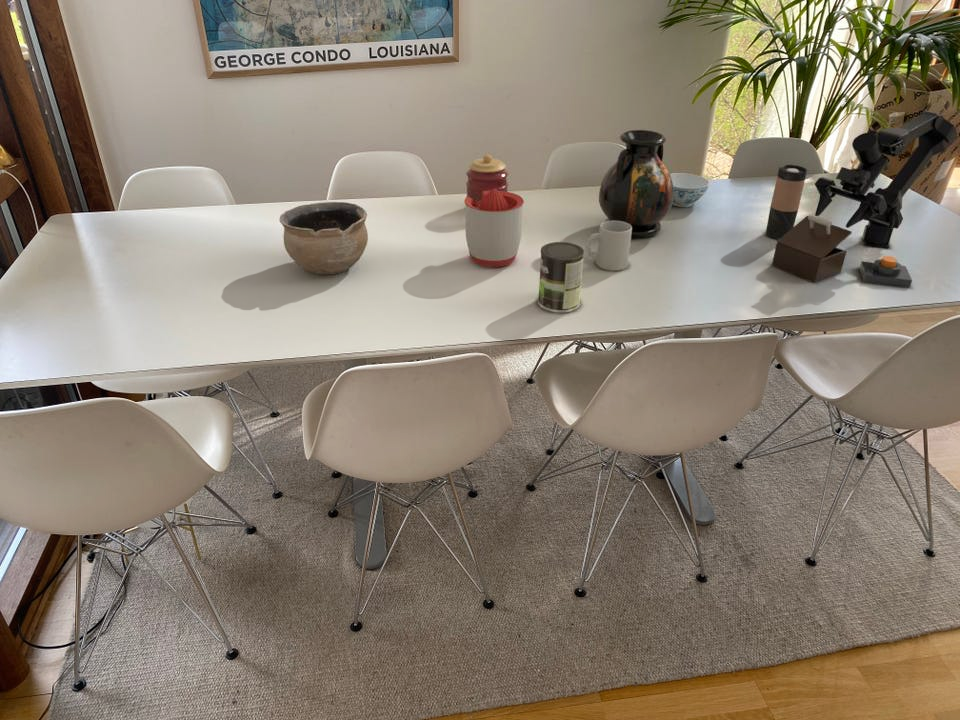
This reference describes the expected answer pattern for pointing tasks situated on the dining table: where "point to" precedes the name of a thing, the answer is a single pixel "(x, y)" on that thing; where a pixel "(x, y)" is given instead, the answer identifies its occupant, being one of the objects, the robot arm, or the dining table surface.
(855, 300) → the dining table surface
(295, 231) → the ceramic bowl
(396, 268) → the dining table surface
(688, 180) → the chinaware
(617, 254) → the mug
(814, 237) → the lid
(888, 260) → the release button
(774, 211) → the travel mug
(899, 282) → the control block
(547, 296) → the coffee can
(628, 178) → the amphora vase
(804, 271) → the brown lidded box
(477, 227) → the citrus juicer
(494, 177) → the kitchen canister
